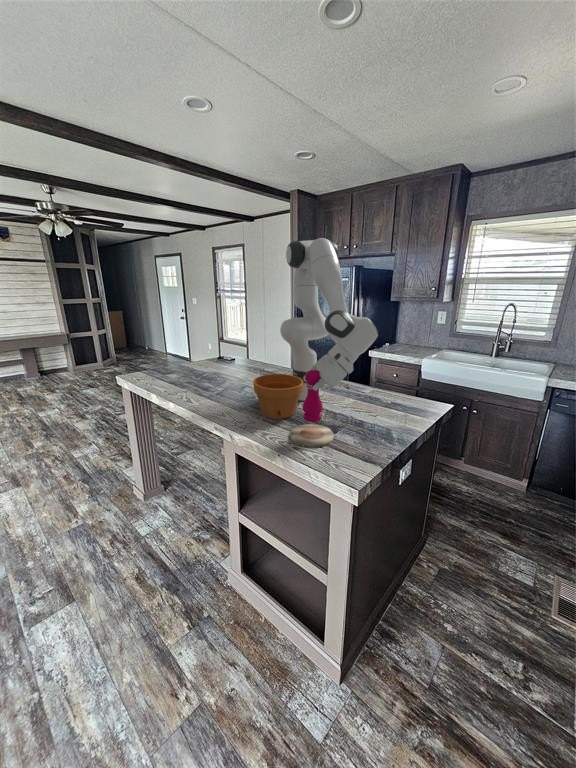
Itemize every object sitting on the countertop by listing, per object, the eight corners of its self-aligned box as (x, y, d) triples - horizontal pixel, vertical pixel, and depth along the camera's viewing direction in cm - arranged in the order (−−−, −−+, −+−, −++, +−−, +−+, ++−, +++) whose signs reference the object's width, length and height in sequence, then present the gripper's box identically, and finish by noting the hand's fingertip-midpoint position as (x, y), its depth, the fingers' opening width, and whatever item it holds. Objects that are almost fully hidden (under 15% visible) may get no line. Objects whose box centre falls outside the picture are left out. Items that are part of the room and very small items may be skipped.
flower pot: (308, 407, 147) (309, 376, 142) (293, 426, 128) (293, 391, 123) (266, 401, 153) (265, 371, 149) (246, 418, 135) (244, 385, 130)
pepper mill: (320, 414, 120) (323, 363, 114) (323, 422, 114) (326, 368, 107) (301, 414, 120) (302, 363, 114) (303, 423, 113) (304, 368, 107)
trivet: (287, 428, 126) (287, 425, 125) (327, 426, 128) (327, 423, 127) (293, 448, 111) (293, 445, 110) (338, 445, 113) (338, 442, 112)
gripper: (326, 346, 120) (300, 372, 122) (342, 358, 101) (311, 389, 102) (337, 357, 122) (311, 382, 124) (355, 371, 102) (324, 401, 104)
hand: (311, 386), depth 113 cm, fingers closed on pepper mill, 5 cm apart
